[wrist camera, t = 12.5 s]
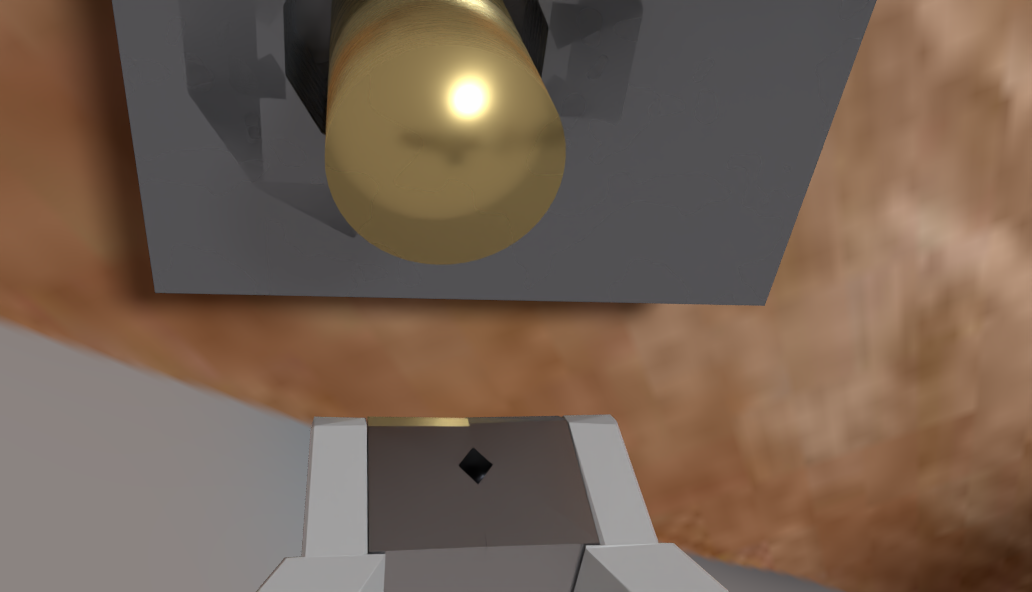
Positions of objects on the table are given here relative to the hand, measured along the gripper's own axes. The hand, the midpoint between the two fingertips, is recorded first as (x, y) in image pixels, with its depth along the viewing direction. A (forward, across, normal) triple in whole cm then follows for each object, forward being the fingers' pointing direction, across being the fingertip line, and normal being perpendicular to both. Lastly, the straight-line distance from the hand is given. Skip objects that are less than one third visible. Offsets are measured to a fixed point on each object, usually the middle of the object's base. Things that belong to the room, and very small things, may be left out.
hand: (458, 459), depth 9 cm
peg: (+15, 0, 0) cm, 15 cm away
